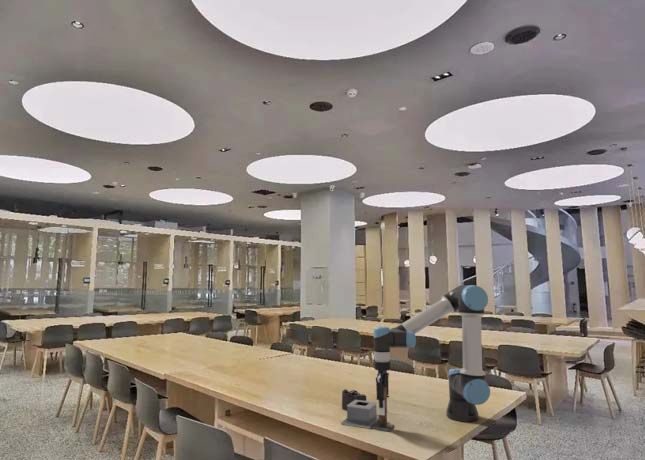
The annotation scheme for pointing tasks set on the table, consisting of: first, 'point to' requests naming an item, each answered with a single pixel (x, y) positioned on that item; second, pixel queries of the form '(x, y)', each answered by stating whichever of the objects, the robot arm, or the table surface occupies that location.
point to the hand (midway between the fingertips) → (383, 413)
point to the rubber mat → (383, 427)
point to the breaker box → (361, 414)
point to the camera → (351, 397)
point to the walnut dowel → (384, 417)
